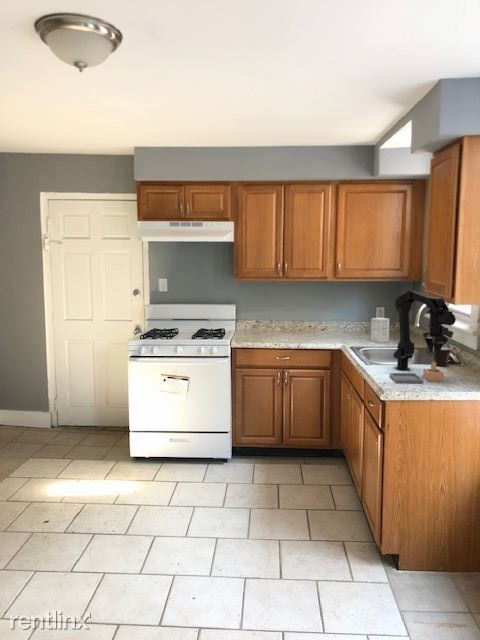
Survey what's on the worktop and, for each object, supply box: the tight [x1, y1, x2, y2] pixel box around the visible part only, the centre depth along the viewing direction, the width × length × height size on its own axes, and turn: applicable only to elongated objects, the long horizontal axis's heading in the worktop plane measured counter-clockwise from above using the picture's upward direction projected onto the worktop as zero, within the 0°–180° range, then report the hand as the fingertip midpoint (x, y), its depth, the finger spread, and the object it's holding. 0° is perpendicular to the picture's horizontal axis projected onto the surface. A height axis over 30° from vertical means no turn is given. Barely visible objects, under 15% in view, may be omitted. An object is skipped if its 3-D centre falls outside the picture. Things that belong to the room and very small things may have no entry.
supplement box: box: [370, 317, 390, 344], centre depth 354 cm, size 10×9×17 cm
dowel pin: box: [430, 360, 437, 372], centre depth 247 cm, size 2×2×9 cm
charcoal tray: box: [389, 372, 425, 385], centre depth 246 cm, size 13×13×2 cm
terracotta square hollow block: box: [422, 368, 445, 382], centre depth 248 cm, size 7×7×4 cm
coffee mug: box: [433, 346, 450, 368], centre depth 278 cm, size 12×9×10 cm
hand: (434, 353), depth 246 cm, fingers open, 9 cm apart
